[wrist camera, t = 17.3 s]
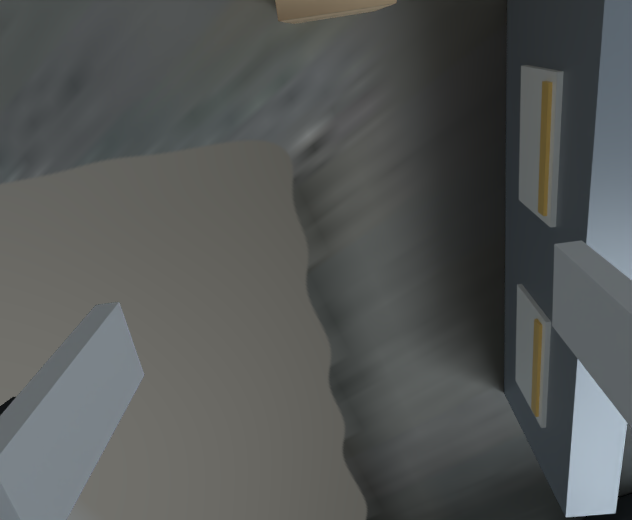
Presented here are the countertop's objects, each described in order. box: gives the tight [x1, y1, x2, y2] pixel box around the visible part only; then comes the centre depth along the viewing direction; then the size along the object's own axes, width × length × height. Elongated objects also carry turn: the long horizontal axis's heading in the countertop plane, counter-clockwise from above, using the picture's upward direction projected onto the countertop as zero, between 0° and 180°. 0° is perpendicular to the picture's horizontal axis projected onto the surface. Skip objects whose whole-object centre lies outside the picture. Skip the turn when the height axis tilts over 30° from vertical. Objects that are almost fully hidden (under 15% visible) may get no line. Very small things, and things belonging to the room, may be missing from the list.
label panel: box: [504, 0, 632, 517], centre depth 31 cm, size 30×4×12 cm, turn 8°
